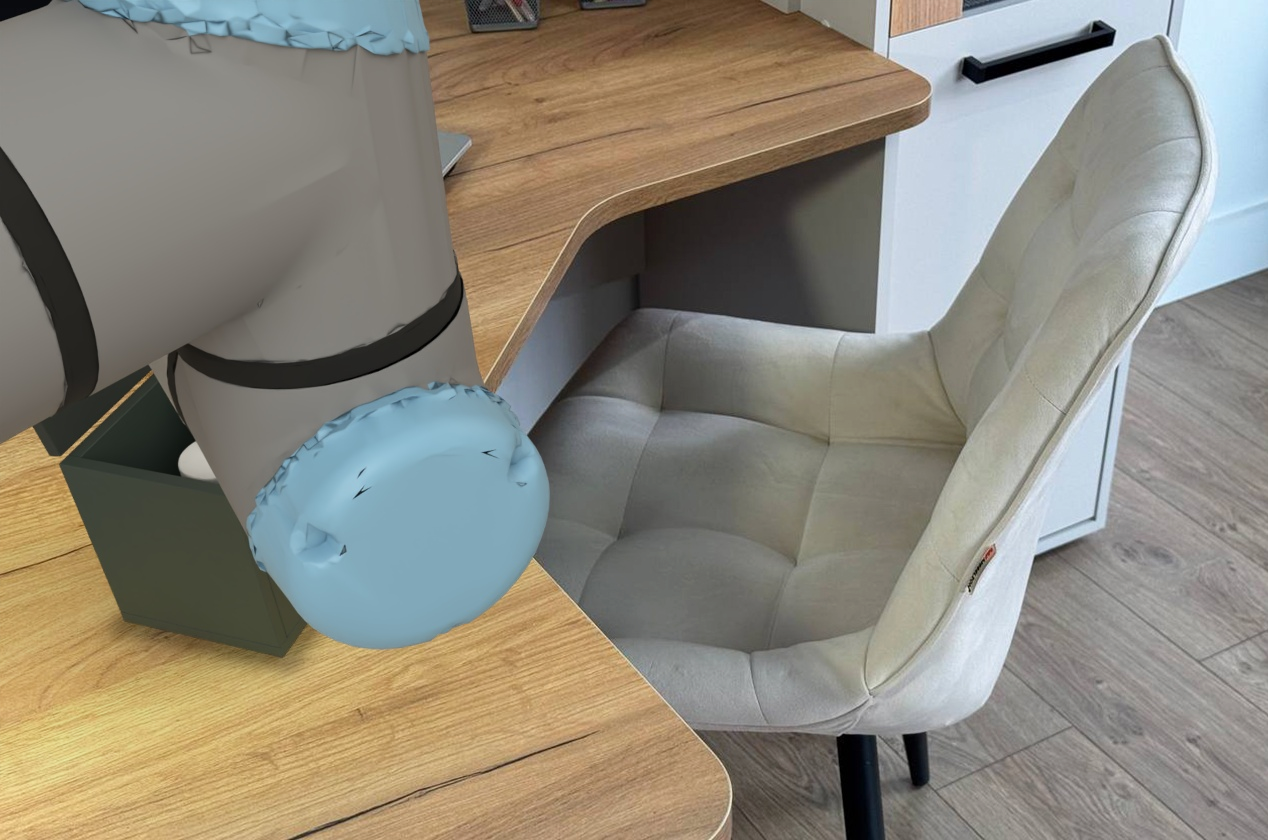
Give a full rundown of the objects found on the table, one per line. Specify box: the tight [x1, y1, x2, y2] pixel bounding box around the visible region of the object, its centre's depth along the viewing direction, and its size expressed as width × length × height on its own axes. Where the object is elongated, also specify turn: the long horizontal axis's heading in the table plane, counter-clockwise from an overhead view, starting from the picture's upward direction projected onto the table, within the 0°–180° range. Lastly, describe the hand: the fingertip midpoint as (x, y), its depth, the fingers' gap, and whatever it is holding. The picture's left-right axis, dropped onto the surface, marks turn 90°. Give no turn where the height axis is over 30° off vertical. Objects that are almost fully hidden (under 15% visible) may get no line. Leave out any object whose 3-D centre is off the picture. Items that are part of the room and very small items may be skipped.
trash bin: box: [58, 372, 308, 658], centre depth 75 cm, size 11×10×12 cm
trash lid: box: [31, 364, 152, 458], centre depth 69 cm, size 11×10×1 cm
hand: (94, 95), depth 59 cm, fingers open, 13 cm apart
